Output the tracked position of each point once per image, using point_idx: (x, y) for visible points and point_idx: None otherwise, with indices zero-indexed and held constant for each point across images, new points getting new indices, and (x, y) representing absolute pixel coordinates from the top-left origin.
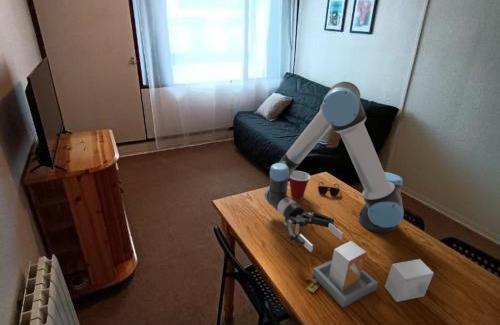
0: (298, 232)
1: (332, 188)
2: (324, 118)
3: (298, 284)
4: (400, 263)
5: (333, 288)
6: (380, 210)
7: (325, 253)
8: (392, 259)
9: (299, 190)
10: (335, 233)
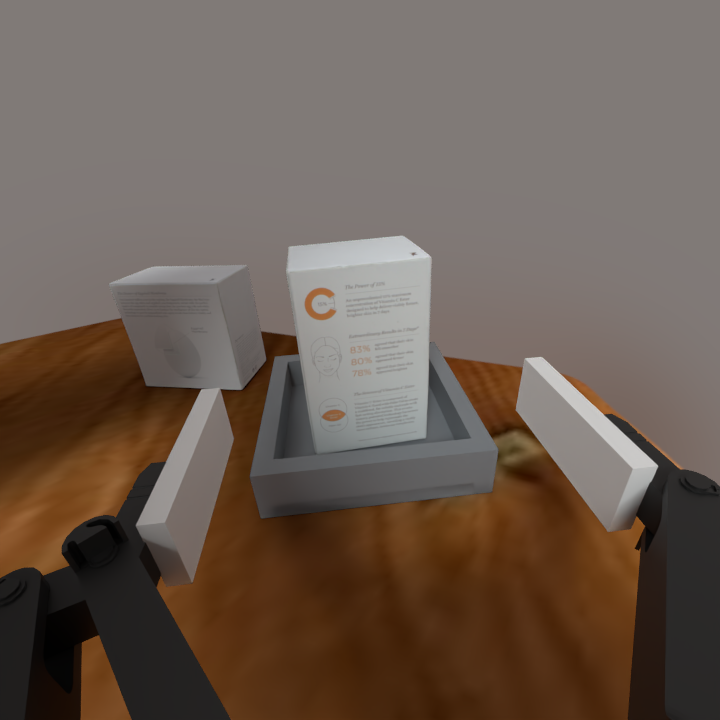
0: (670, 507)
1: None
2: None
3: None
4: (190, 280)
5: (449, 368)
6: None
7: (308, 623)
8: (50, 460)
9: None
10: (215, 470)
